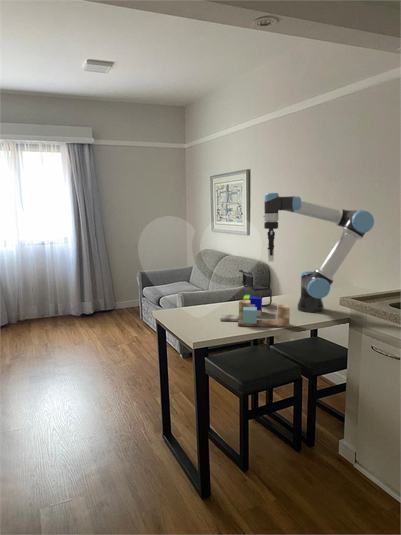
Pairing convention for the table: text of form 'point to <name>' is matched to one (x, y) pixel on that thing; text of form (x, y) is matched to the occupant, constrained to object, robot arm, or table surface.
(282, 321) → the lane front
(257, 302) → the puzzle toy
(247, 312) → the cube
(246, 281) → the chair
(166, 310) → the table surface
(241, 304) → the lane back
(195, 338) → the table surface
